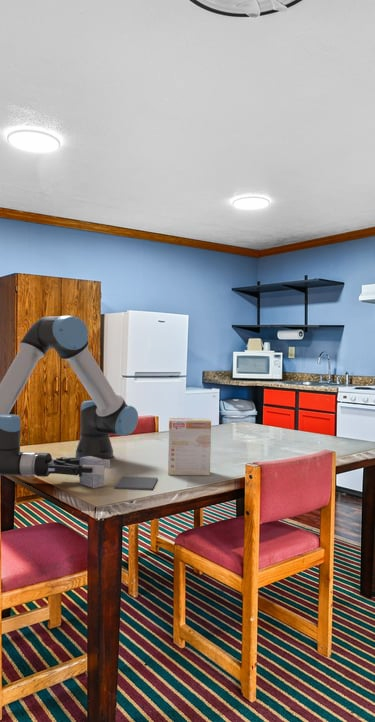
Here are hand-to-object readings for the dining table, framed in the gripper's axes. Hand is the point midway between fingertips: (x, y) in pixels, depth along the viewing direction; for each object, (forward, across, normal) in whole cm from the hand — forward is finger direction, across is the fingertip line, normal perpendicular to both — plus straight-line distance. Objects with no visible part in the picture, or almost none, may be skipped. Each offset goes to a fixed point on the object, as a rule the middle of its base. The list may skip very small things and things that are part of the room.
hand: (106, 466), depth 169 cm
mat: (+9, -4, -6) cm, 12 cm away
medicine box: (-5, 0, -6) cm, 8 cm away
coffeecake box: (+25, -22, -6) cm, 34 cm away
